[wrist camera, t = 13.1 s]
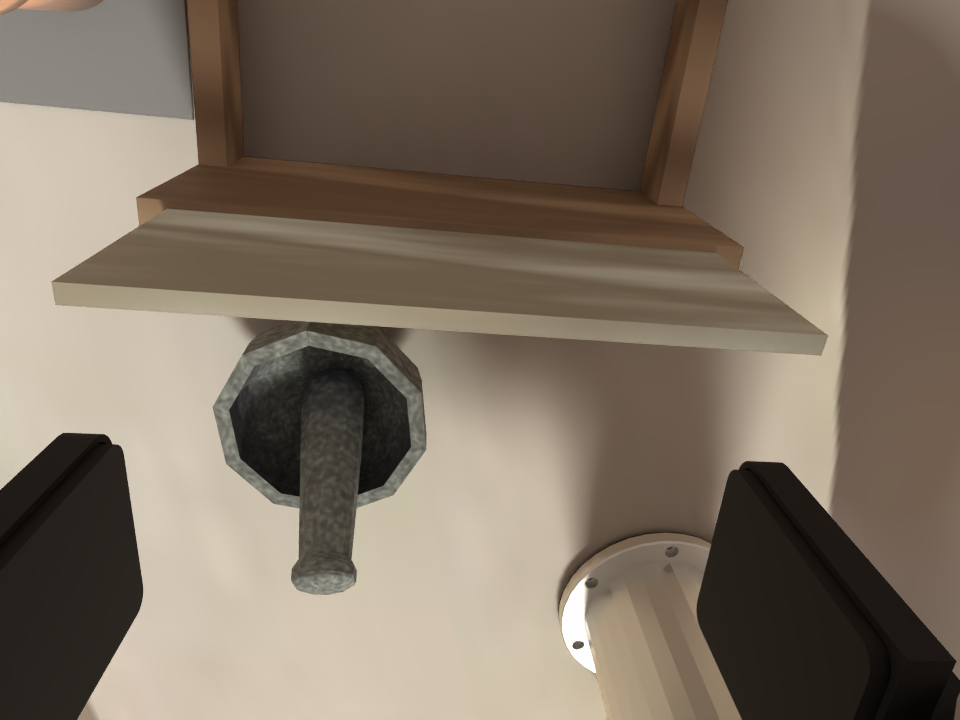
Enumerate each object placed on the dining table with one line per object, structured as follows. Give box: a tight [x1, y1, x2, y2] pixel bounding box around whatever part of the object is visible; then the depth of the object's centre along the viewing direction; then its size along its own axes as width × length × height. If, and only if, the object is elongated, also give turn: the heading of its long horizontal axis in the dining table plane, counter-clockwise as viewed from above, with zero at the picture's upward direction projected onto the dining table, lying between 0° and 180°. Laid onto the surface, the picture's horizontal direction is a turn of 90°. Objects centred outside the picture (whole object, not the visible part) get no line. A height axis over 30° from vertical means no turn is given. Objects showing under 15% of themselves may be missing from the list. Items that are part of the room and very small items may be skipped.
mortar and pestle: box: [213, 321, 426, 595], centre depth 33 cm, size 11×9×12 cm
